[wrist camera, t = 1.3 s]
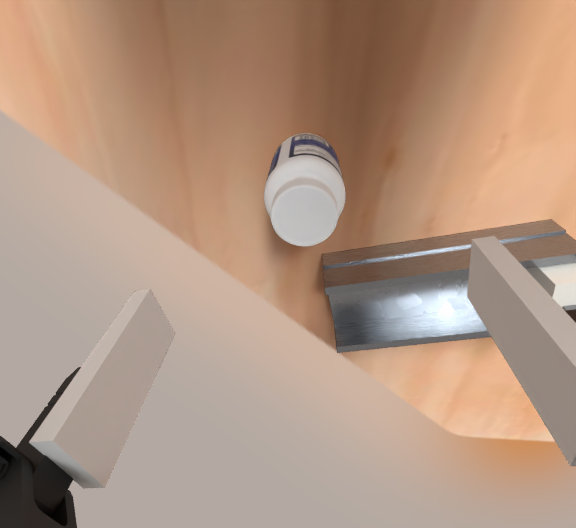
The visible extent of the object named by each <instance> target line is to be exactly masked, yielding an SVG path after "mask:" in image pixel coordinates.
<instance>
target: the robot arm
mask: <svg viewBox="0 0 576 528" xmlns="http://www.w3.org/2000/svg"><path fill="white" fill-rule="evenodd" d="M467 297H468V299H469V301H470V302H471V304H472V305H473V307H474V309H475V310H476V312H477V314H478V315H479V317H480V319H481V320H482V322H483V323H484V325H485V327H486V328H487V330H488V332H489V333H490V335H491V337H492V338H493V340H494V342H495V343H496V345H497V346H498V348H499V350H500V351H501V353H502V355H503V356H504V358H505V360H506V361H507V363H508V364H509V366H510V368H511V369H512V371H513V373H514V374H515V376H516V378H517V379H518V381H519V383H520V384H521V386H522V387H523V389H524V391H525V392H526V394H527V396H528V397H529V399H530V401H531V402H532V404H533V405H534V407H535V409H536V410H537V412H538V414H539V415H540V417H541V419H542V420H543V422H544V424H545V425H546V427H547V428H548V430H549V432H550V433H551V435H552V437H553V438H554V440H555V442H556V443H557V445H558V446H559V448H560V450H561V451H562V453H563V455H564V456H565V458H566V460H567V461H568V463H569V464H570V466H576V309H574V310H566V311H564V310H563V309H562V307H561V306H560V305H559V304H558V303H557V302H556V301H555V300H554V299H553V298H552V297H551V296H550V295H549V294H548V293H547V291H546V290H545V289H544V288H543V287H542V286H541V285H540V284H539V283H538V282H537V281H536V280H535V279H534V278H533V277H532V275H531V274H530V273H529V272H528V271H527V270H526V269H525V268H524V267H523V266H522V265H521V264H520V263H519V262H518V261H517V259H516V258H515V257H514V256H513V255H512V254H511V253H510V252H509V251H508V250H507V249H506V248H505V247H504V246H503V245H502V243H501V242H500V241H499V240H498V239H497V238H496V237H495V236H490V237H484V238H477V239H472V246H471V257H470V268H469V279H468V290H467ZM174 335H175V332H174V330H173V328H172V326H171V325H170V323H169V321H168V320H167V318H166V316H165V314H164V312H163V311H162V309H161V307H160V305H159V303H158V302H157V300H156V298H155V297H154V295H153V293H152V291H151V289H145V290H139V291H134V292H133V294H132V295H131V297H130V298H129V299H128V301H127V302H126V304H125V305H124V307H123V308H122V310H121V311H120V312H119V314H118V316H117V317H116V318H115V320H114V321H113V323H112V324H111V325H110V327H109V328H108V330H107V331H106V332H105V334H104V335H103V337H102V338H101V340H100V341H99V342H98V344H97V345H96V347H95V348H94V350H93V351H92V353H91V354H90V355H89V357H88V358H87V360H86V361H85V363H84V364H83V366H82V367H79V368H77V369H76V370H75V371H74V372H73V373H72V374H71V375H70V376H69V377H68V378H66V379H65V381H64V382H63V384H62V385H61V386H60V388H59V389H58V391H57V392H56V395H54V396H53V397H52V399H51V400H50V402H49V403H48V406H47V407H45V408H44V410H43V411H42V413H41V414H40V415H39V417H38V418H37V420H36V421H35V423H34V424H33V426H32V427H31V428H30V429H29V431H28V432H27V434H26V435H25V436H24V438H23V439H22V440H21V442H20V443H19V445H18V446H17V447H16V448H15V447H14V446H13V445H11V444H10V443H9V442H8V441H6V440H5V439H4V438H3V437H1V436H0V528H77V525H76V517H75V509H74V502H73V496H72V494H71V492H70V491H69V490H68V488H69V486H70V484H71V482H72V481H73V480H74V481H75V482H77V483H78V484H79V485H80V486H81V487H83V488H103V487H105V486H106V484H107V481H108V479H109V477H110V475H111V473H112V470H113V469H114V466H115V464H116V462H117V460H118V458H119V456H120V453H121V451H122V449H123V447H124V445H125V442H126V440H127V438H128V436H129V434H130V431H131V429H132V427H133V425H134V422H135V420H136V418H137V416H138V414H139V412H140V409H141V407H142V405H143V403H144V401H145V399H146V396H147V394H148V392H149V390H150V388H151V386H152V383H153V381H154V379H155V377H156V374H157V372H158V370H159V368H160V366H161V364H162V361H163V359H164V357H165V355H166V353H167V350H168V348H169V346H170V344H171V342H172V340H173V337H174Z"/></svg>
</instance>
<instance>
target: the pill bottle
mask: <svg viewBox="0 0 576 528" xmlns="http://www.w3.org/2000/svg"><path fill="white" fill-rule="evenodd" d="M345 199H346V193H345V186H344V182H343V178H342V174H341V170H340V166H339V162H338V158H337V155H336V153H335V150H334V149H333V147H332V146H331V144H330V143H329V142H328V141H327V140H325V139H324V138H322V137H321V136H318V135H316V134H312V133H299V134H296V135H293V136H291V137H289V138H287V139H286V140H285V141H284V142H283V143H282V144H281V145H280V146H279V147H278V149H277V150H276V152H275V154H274V157H273V160H272V163H271V167H270V170H269V174H268V177H267V181H266V184H265V190H264V202H265V207H266V210H267V212H268V214H269V216H270V217H271V223H272V226H273V228H274V230H275V232H276V233H277V234H278V235H279V237H281V238H282V239H283V240H284V241H286V242H288V243H290V244H292V245H296V246H313V245H316V244H319V243H321V242H323V241H324V240H326V239H327V238H328V237H329V236H330V235H331V234H332V232H333V231H334V229H335V227H336V225H337V222H338V218H339V216H340V215H341V213H342V211H343V208H344V205H345Z"/></svg>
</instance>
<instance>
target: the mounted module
mask: <svg viewBox="0 0 576 528" xmlns="http://www.w3.org/2000/svg"><path fill="white" fill-rule="evenodd" d="M526 270H527V271H528V272H529V273H530V274H531V275H532V277H533V278H534V279H535V280H536V281H537V282H538V283H539V284H540V285H541V286H542V287H543V288H544V289H545V290H546V291H547V293H548V294H549V295H550V296H551V297H552V298H553V299H554V300H555V301H556V302H557V303H558V304H559V305H560V306H561V307H562V309H563V310H564V311H566V310H574V309H576V262H573V263H566V264H558V265H551V266H543V267H535V268H528V269H526Z"/></svg>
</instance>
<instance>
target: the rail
mask: <svg viewBox="0 0 576 528" xmlns="http://www.w3.org/2000/svg"><path fill="white" fill-rule="evenodd" d="M490 236H495V237H496V238H497V239H498V240H499V241H500V242H501V243H502V245H503V246H504V247H505V248H506V249H507V250H508V251H509V252H510V253H511V254H512V255H513V256H514V257H515V258H516V259H517V261H518V262H519V263H520V264H521V265H522V266H523V267H524V268H525V269H528V268H535V267H543V266H551V265H558V264H566V263H573V262H576V240H575V239H573V238H572V237H571V236H569V235H568V234H567V233H566V230H565V229H564V228H562V227H561V226H560V225H558V224H557V223H556V222H554V221H553V220H552V219H550V220H544V221H537V222H531V223H524V224H518V225H511V226H505V227H498V228H491V229H485V230H478V231H472V232H465V233H459V234H452V235H446V236H439V237H433V238H426V239H419V240H413V241H406V242H400V243H393V244H387V245H380V246H374V247H367V248H361V249H354V250H347V251H341V252H334V253H328V254H322V260H323V273H324V289H325V294H326V295H329V300H330V306H331V311H332V316H333V321H334V328H335V340H336V349H337V353H340V352H350V351H359V350H369V349H379V348H388V347H398V346H408V345H417V344H427V343H437V342H446V341H456V340H466V339H475V338H485V337H491V335H490V333H489V332H488V330H487V328H486V327H485V325H484V323H483V322H482V320H481V319H480V317H479V315H478V314H477V312H476V310H475V309H474V307H473V305H472V304H471V302H470V301H469V299H468V297H467V290H468V279H469V268H470V257H471V246H472V239H477V238H484V237H490Z"/></svg>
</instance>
